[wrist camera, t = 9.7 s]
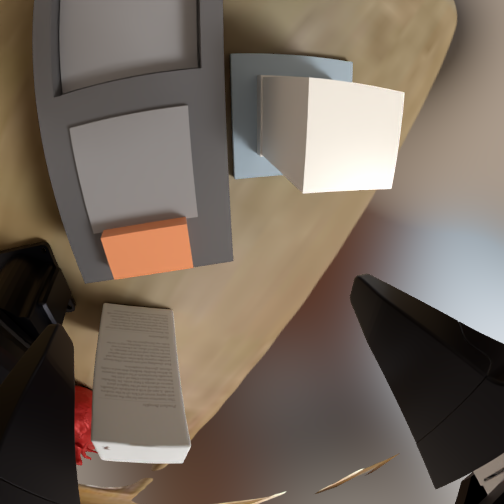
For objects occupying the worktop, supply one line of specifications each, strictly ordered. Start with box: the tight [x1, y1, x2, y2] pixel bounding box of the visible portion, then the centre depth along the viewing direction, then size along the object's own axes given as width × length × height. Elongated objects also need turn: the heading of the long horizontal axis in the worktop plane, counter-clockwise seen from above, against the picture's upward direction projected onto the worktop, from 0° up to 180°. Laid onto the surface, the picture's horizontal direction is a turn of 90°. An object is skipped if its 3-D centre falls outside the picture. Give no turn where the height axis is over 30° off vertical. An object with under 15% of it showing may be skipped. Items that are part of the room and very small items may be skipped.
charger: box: [257, 75, 405, 193], centre depth 14 cm, size 5×5×7 cm
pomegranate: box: [75, 385, 98, 465], centre depth 24 cm, size 10×10×9 cm
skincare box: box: [91, 303, 191, 463], centre depth 18 cm, size 6×4×12 cm
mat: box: [230, 53, 353, 179], centre depth 17 cm, size 8×8×1 cm
